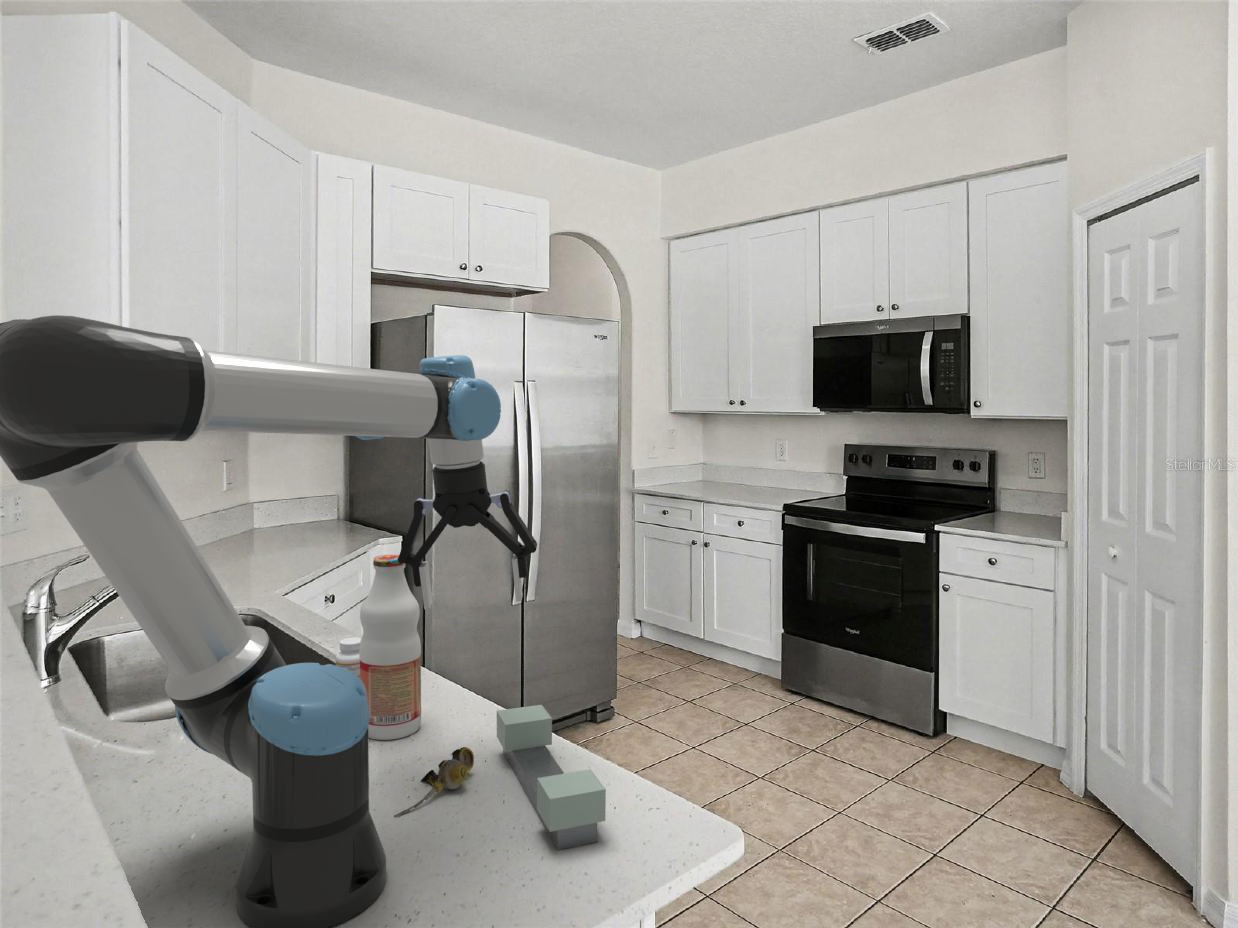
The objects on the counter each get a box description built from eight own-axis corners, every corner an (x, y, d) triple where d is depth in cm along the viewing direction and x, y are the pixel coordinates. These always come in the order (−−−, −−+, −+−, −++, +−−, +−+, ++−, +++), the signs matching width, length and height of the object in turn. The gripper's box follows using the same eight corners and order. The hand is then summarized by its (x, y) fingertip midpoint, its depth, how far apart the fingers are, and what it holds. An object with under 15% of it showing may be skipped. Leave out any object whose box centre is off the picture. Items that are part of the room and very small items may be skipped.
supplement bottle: (350, 686, 146) (350, 634, 145) (374, 690, 144) (373, 638, 143) (329, 696, 141) (328, 642, 140) (353, 701, 139) (352, 646, 138)
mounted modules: (549, 831, 94) (550, 799, 93) (496, 736, 120) (496, 710, 119) (605, 820, 96) (605, 789, 96) (541, 729, 122) (541, 704, 122)
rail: (557, 850, 94) (557, 830, 94) (503, 751, 120) (503, 735, 120) (597, 842, 96) (597, 822, 96) (535, 746, 122) (535, 730, 122)
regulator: (415, 831, 100) (492, 765, 112) (404, 802, 99) (482, 739, 112) (378, 832, 104) (456, 768, 116) (367, 804, 104) (446, 743, 116)
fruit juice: (393, 746, 121) (391, 565, 119) (347, 733, 126) (344, 559, 123) (433, 724, 130) (432, 555, 127) (389, 713, 134) (387, 549, 132)
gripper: (545, 452, 119) (558, 586, 123) (378, 465, 118) (396, 599, 122) (542, 461, 112) (556, 604, 116) (364, 475, 111) (384, 618, 115)
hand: (474, 602), depth 119 cm, fingers open, 13 cm apart
